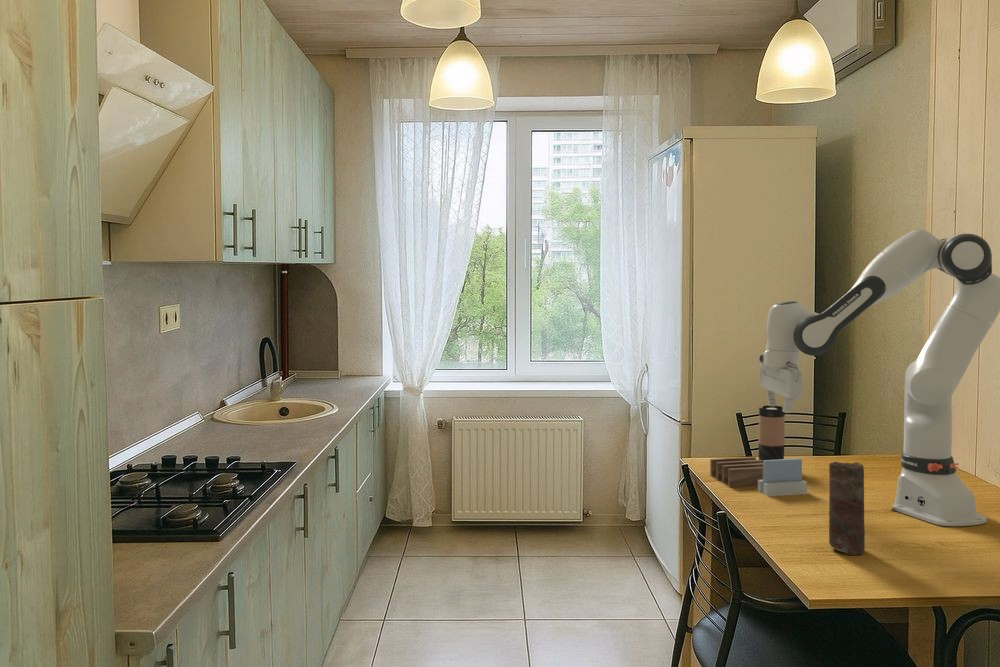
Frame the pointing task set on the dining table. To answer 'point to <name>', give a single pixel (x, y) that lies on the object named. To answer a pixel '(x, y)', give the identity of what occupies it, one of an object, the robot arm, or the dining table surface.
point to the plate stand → (783, 488)
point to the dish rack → (737, 471)
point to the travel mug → (771, 433)
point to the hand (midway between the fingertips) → (778, 409)
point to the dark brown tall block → (846, 507)
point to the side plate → (782, 470)
